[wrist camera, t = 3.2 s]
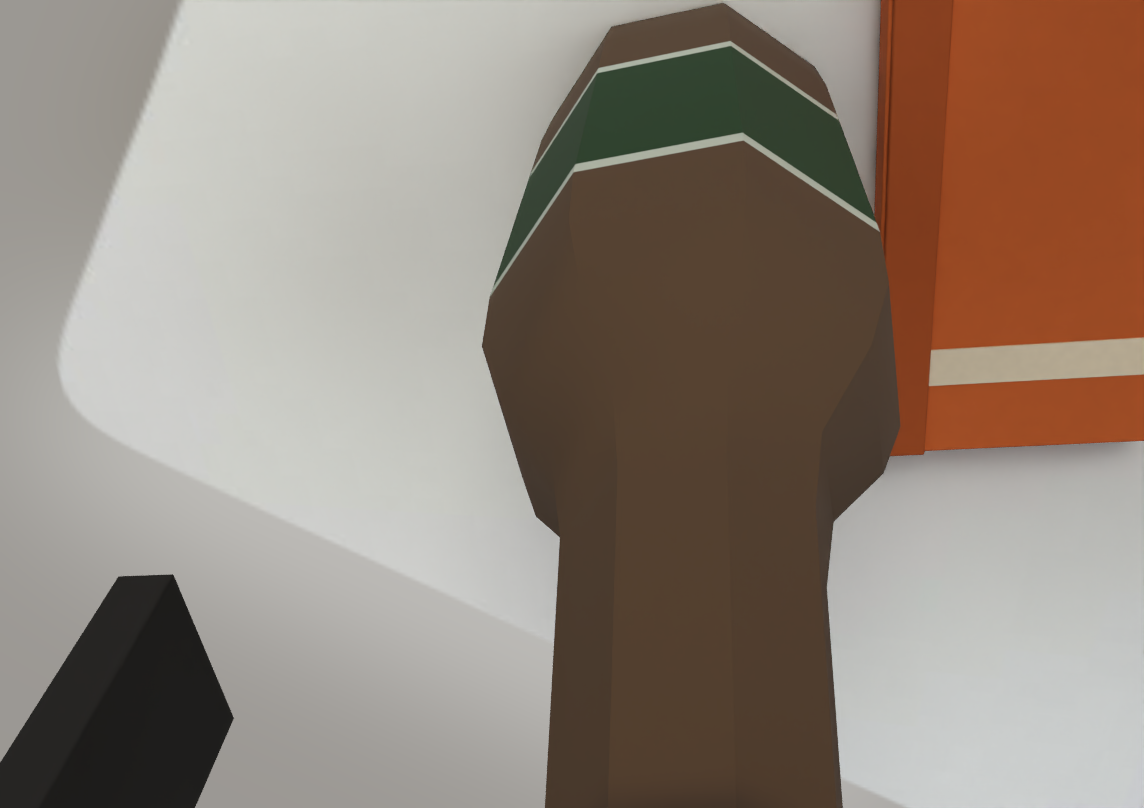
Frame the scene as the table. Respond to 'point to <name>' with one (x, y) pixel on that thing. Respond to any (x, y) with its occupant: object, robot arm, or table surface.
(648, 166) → the beer bottle
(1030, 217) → the towel
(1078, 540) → the table surface
